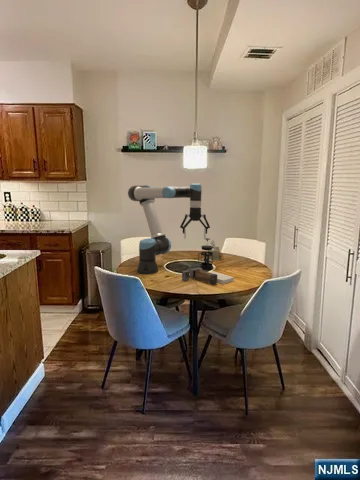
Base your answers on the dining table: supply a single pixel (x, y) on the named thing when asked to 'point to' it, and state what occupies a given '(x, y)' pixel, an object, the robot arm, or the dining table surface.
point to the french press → (206, 257)
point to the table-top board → (223, 278)
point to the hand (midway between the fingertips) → (194, 238)
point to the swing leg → (206, 277)
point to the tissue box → (214, 252)
